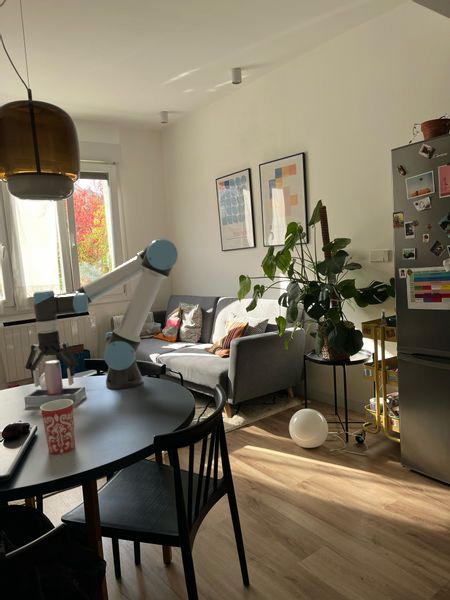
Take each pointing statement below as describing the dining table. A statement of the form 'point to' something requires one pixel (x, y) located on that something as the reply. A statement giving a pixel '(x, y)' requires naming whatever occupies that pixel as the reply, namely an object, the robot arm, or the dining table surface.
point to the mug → (59, 425)
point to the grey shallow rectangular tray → (54, 396)
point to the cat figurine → (42, 381)
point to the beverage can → (53, 377)
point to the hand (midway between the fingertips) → (54, 385)
